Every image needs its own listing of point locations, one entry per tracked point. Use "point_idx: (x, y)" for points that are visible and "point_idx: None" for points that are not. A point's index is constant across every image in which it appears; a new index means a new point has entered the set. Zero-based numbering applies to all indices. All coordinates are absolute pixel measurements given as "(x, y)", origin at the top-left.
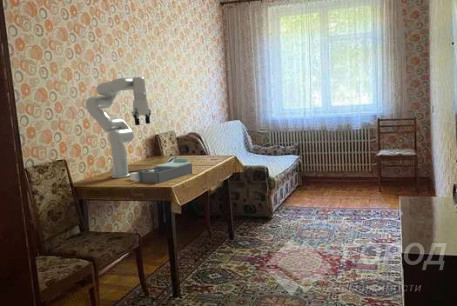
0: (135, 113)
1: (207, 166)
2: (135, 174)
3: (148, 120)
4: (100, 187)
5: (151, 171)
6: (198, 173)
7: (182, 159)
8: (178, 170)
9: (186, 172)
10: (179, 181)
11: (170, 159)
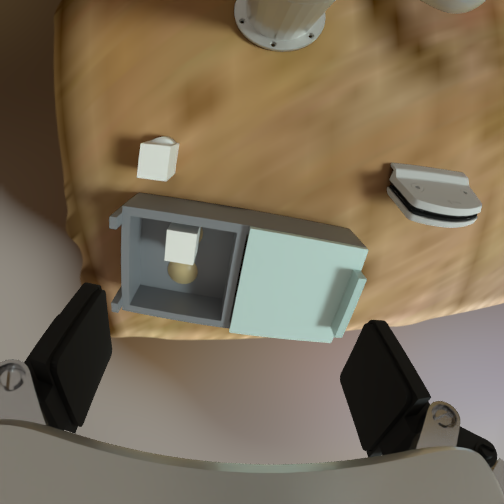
0: (29, 488)
1: (450, 294)
2: (139, 177)
3: (355, 407)
4: (59, 87)
5: (165, 248)
6: None
7: (340, 318)
8: None
9: None
10: (193, 325)
11: (429, 211)
